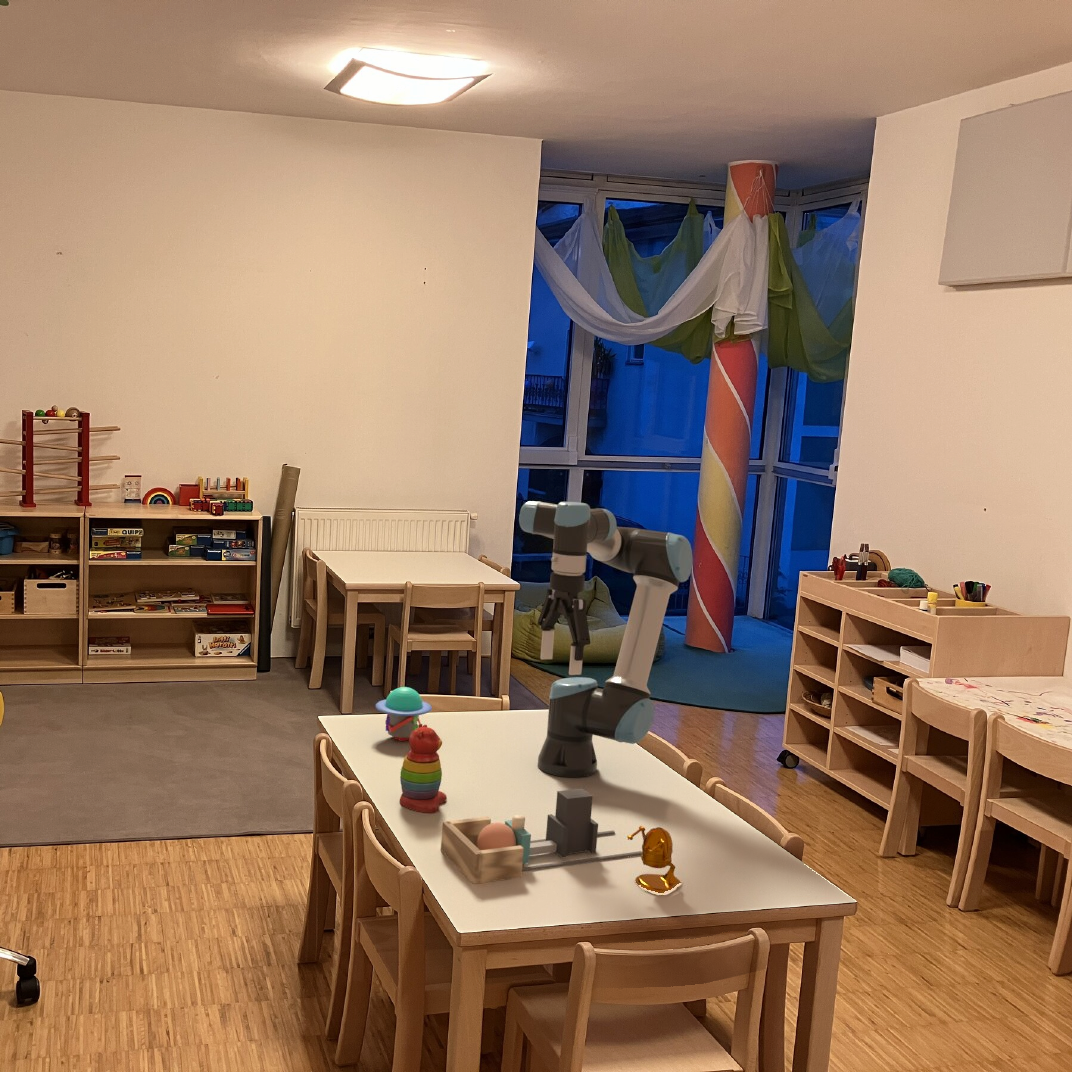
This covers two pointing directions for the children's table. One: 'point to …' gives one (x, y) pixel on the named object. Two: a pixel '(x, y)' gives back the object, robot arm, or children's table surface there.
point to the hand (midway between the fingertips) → (560, 666)
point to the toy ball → (496, 837)
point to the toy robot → (403, 712)
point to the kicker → (561, 827)
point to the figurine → (656, 859)
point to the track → (581, 859)
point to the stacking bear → (422, 772)
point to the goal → (479, 852)
